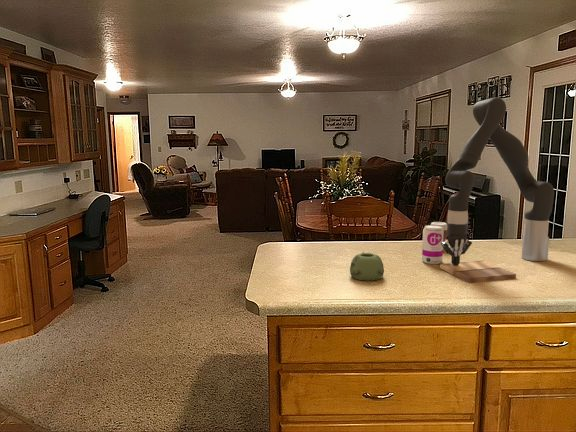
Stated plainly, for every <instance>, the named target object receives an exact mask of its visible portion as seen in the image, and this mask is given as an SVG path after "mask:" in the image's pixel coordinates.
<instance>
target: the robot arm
mask: <svg viewBox="0 0 576 432" xmlns="http://www.w3.org/2000/svg"><path fill="white" fill-rule="evenodd" d="M506 112H507V103H506V102H505V100H504V99H503V98H501V97H491V98H487V99H484V100H480V101H477V102H476V103H475V104H474V105H473V108H472V113H473V115H472V116H473V118H474V119H475V121H476V123H477V124H478V125H479V127H478V129H477V130H476V131H475V132H474V133H473V134H472V135H471V137H470V138H469V139H468V140H467V141H466V142H465V144H464V146H463V148H462V150H461V153H460V155H459V157H458V159H457V160H456V161H455V162H454V163H453V165H452V166H451V167H450V168H449V170H448V171H447V173H446V175H445V184H446V186H447V187H448V188H450V189H457V190H458V189H459V191H458V193H455V194H451V195H450V196H449V197H448V211H447V222H446V224H447V237H446V240H445V241H444V242H441V245H442V247H443V248H444V251H445V252H446V254H448V255H450V256H451V262H450V263H452V264H453V265H459V263H460V261H461V256H462V255H465V254H466V252H467V251H468V249H469V248H470V247H471V246H472V244H473V242H472V241H471V240H469V239H468V235H467V234H468V223H469V213H468V211H469V200H470V196H471V193H472V190H473V188H474V184H475V176H474V174H473V173H472V172H471V171H470V170H472V169H475V168H476V167H477V165H478V163H479V160H480V158H481V156H482V153H483V151H484V149H485V147H486V145H487V144H488V141H491V143H492V144H493V146H494V147H495V149H496V150H497V153H498V154H499V156H500V157H501V159H502V161H503V163H504V164H505V165H506V167H507V168H508V170H509V172H510V173H511V176H512V177H513V179H514V181H515V182H516V185H517V187H518V189H519V192H520V193H521V195H522V198H524V199H525V201H527V202H530V203H533V205H532V209H530V210H528V211H525V213H524V221H523V235H522V248H521V259H523V260H526V261H531V262H543V261H546V260H548V258H549V246H550V237H549V235H548V234H549V221H550V216H551V214H552V211H553V207H554V206H553V205H554V198H555V190H554V187H553V185H552V183H550V182H547V181H542V180H537V179H536V178H535V177H534V176H533V174H532V172H531V171H530V168H529V153H528V151H527V150H526V148H525V146H524V144H523V143H522V141H521V140H520V138H518V137H516V136H515V135H514V134H512V133H511V132H509V131H508V130H506V129H505V128H504V127H502V125H501V122H502V120H503V119H504V117H505V115H506Z"/></svg>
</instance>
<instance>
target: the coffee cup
mask: <svg viewBox="0 0 576 432" xmlns="http://www.w3.org/2000/svg"><path fill="white" fill-rule="evenodd" d="M430 225H435V226H441V227H442V228H443V230H444V234H443V242H444V241H445V240H446V237H447V222H444V221H443V222H442V221H433V222H431V223H430ZM443 251H445V249H444V248H443Z"/></svg>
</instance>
